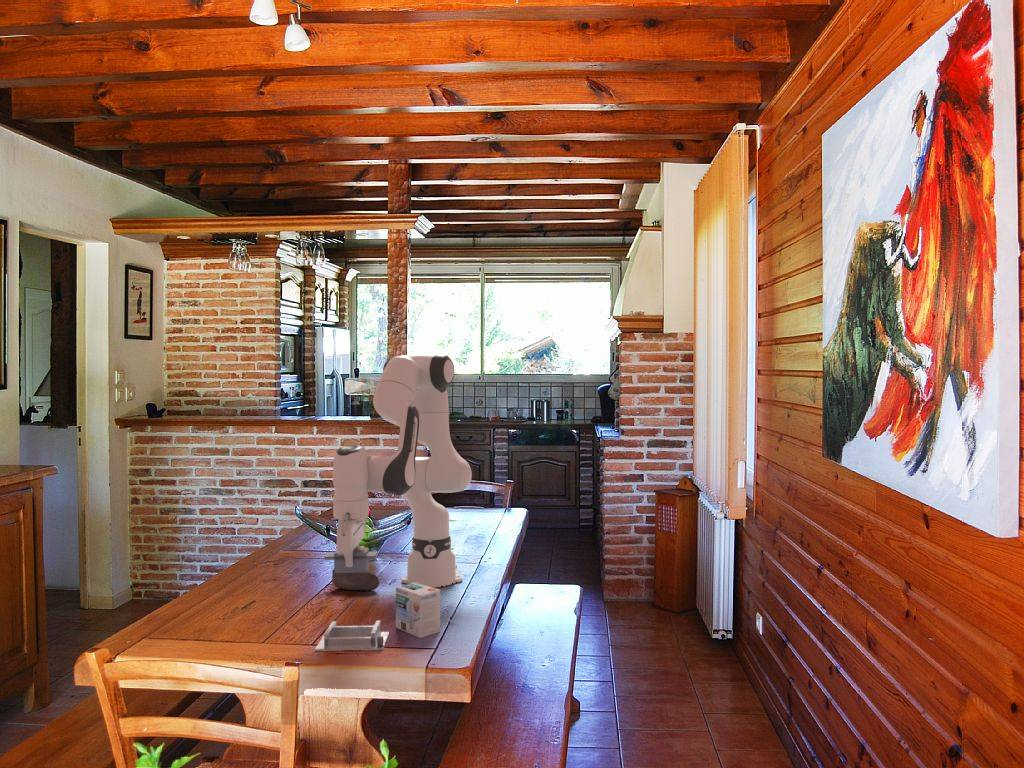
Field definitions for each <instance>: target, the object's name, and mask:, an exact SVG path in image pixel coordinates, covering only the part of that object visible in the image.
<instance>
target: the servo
mask: <svg viewBox="0 0 1024 768" xmlns="http://www.w3.org/2000/svg"><path fill="white" fill-rule="evenodd" d="M369 549H370V548H367V547H366V548H365V546H364V545H359V547H358V549H354V551H353V559H354V564H353V566H352V567H346V566H345V557H344V554H338V553H337V549H336V550H335V551H329V552H326V554H325V555H324V557H323V560H324V561H332V560H333V569H334V573H362V572H367V570H368V571H369V568H370V560H377V558H378V556H379V551H377V550H376V551H375V550H374V551H369Z"/></svg>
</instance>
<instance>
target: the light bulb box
mask: <svg viewBox="0 0 1024 768" xmlns="http://www.w3.org/2000/svg"><path fill="white" fill-rule="evenodd" d="M395 628H396V629H398V630H401V631H403V632H405V633H408V634H409V635H412V636H415V637H416V638H418V639H422V638H425V637H428V636H431V635H434V634H437V633H440V632H441V589H439V588H436V587H434V588H432V587H429V586H426V585H423V584H420V583H417V582H413V583H410V584H407V583H405V584H404V585H403V584H402V585H399V586H396V587H395Z"/></svg>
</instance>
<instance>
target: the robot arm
mask: <svg viewBox="0 0 1024 768" xmlns="http://www.w3.org/2000/svg"><path fill="white" fill-rule="evenodd" d="M454 378H455V365H454V363H453V360H452V359H451V357H449V356H448V355H446V354H443V353H426V352H417V353H412V354H411V353H410V354H402V355H401V354H397V355H394V356H390V357H388V359H387V360H386V361H385V362H384V364H383V367H382V372H381V375H380V376H379V380H378V382H377V384H376V388H375V389H374V393H373V396H372V397H373V398H372V404H373V407H374V409H375V411H376V413H377V414H378V415H379V416H380V417H381V418H382V419H384V420H385V421H386V422H389V423H390V424H393V425H394V426H397V427H398V428H399V436H398V443H397V450H396V451H397V452H396V453H395V454H392V455H389V456H387V455H386V456H385V455H372V454H370V453H368V452H366V449H365V447H364V446H362V445H359V444H350V445H345V446H344V445H343V446H342V447H340V448H338V449H336V451H335V453H334V458H333V464H332V483H333V486H334V492H333V493H334V494H333V497H332V498H333V500H332V504H333V505H332V507H333V509H332V510H333V512H332V513H333V518H334V519H337V520H338V524H337V528H336V550H337V553H338V554H344V557H345V566H346V567H352V566H353V564H354V559H353V551H354V549H358V547H359V546H360V543H361V541H362V540H363V539H364V537H365V535H366V529H367V517H368V516H369V513H370V512H369V511H370V510H369V508H370V505H369V493H368V492H371V493H381V494H382V493H383V494H389V495H393V496H394V495H396V496H404V498H405V499H406V501H407V503H408V504H409V508H410V510H411V514H412V523H413V524H412V525H413V536H412V540H411V548H412V551H411V552H410V553H409V554H408V555H407V560H406V561H407V563H406V564H407V565H406V567H407V571H406V575H404V576H403V577H402V578H401V583H403V584H410V583H413V582H417V583H420V584H423V585H426V586H429V587H432V588H442V587H441V586H443V587H447V586H450V585H453V584H456V582H457V583H461V581H462V582H463V577H462V575H461V574H460V572H459V570H458V566H457V564H456V555H455V554H454V552H453V551H452V549H451V547H452V538H451V535H450V513H449V511H448V510H447V508H446V507H445V506H444V505H442V504H440V503H438V502H437V501H436V500H435V499H434V497H433V495H432V493H443V494H448V493H449V494H451V493H458V492H463V491H466V489H467V488H468V487H469V485H470V484H471V481H472V478H473V473H472V469H471V466H470V464H469V463H468V461H467V460H466V459H464V458H463V457H462V456H461V455H460V454H459V453H458V452H457V450H456V449H455V447H454V445H453V441H452V439H451V434H450V432H451V431H450V413H449V412H450V411H449V410H450V409H449V408H450V407H449V397H448V395H449V394H448V388H449V387H450V386H451V385H452V383H453V381H454ZM418 443H419V444H421V445H423V446H424V447H427V449H428V450H429V452H430V456H416V455H417V447H418ZM452 583H453V584H452ZM446 585H447V586H446Z"/></svg>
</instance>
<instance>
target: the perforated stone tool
mask: <svg viewBox="0 0 1024 768" xmlns="http://www.w3.org/2000/svg"><path fill="white" fill-rule="evenodd" d="M331 579H332V580H331V581H332V584H333V586H335V587H336V588H339V589H341V590H348V591H356V590H361V592H362V590H364V591H363V592H369V591H373V590H376V589H378V587H379V586H380V580H379V577H378V576H377V574H375V573H374V572H372V571H371V570H369V569H368V570H367V572H362V573H334V568H333V569H332V575H331Z"/></svg>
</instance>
